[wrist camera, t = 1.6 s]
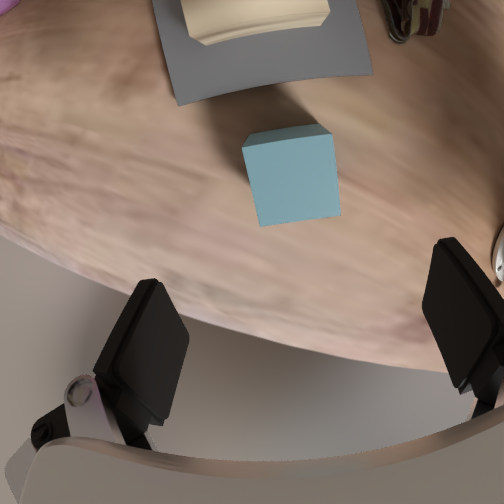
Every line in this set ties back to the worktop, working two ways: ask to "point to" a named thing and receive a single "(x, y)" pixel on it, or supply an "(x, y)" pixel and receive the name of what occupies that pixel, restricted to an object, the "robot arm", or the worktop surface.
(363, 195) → the worktop surface
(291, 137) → the teal block
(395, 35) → the chocolate cake
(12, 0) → the teakettle
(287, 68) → the stacking base
